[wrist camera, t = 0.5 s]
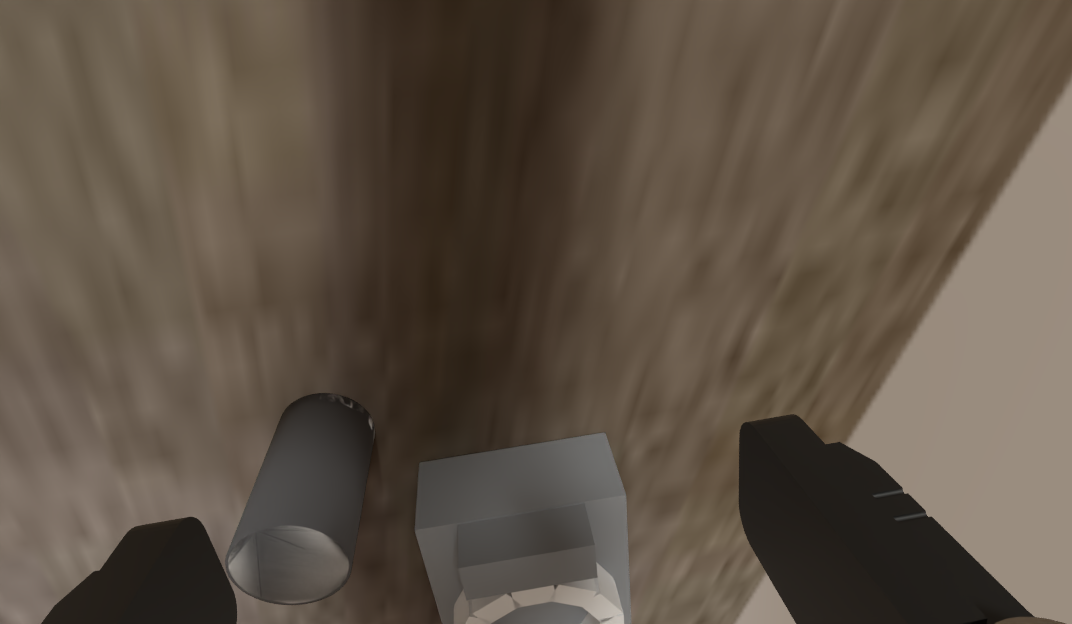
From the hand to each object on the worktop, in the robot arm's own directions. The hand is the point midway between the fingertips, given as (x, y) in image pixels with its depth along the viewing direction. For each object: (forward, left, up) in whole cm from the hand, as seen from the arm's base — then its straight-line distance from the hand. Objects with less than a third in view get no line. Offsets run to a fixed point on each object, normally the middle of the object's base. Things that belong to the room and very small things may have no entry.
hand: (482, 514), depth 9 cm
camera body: (+22, 0, -18) cm, 28 cm away
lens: (+12, -9, -18) cm, 23 cm away
